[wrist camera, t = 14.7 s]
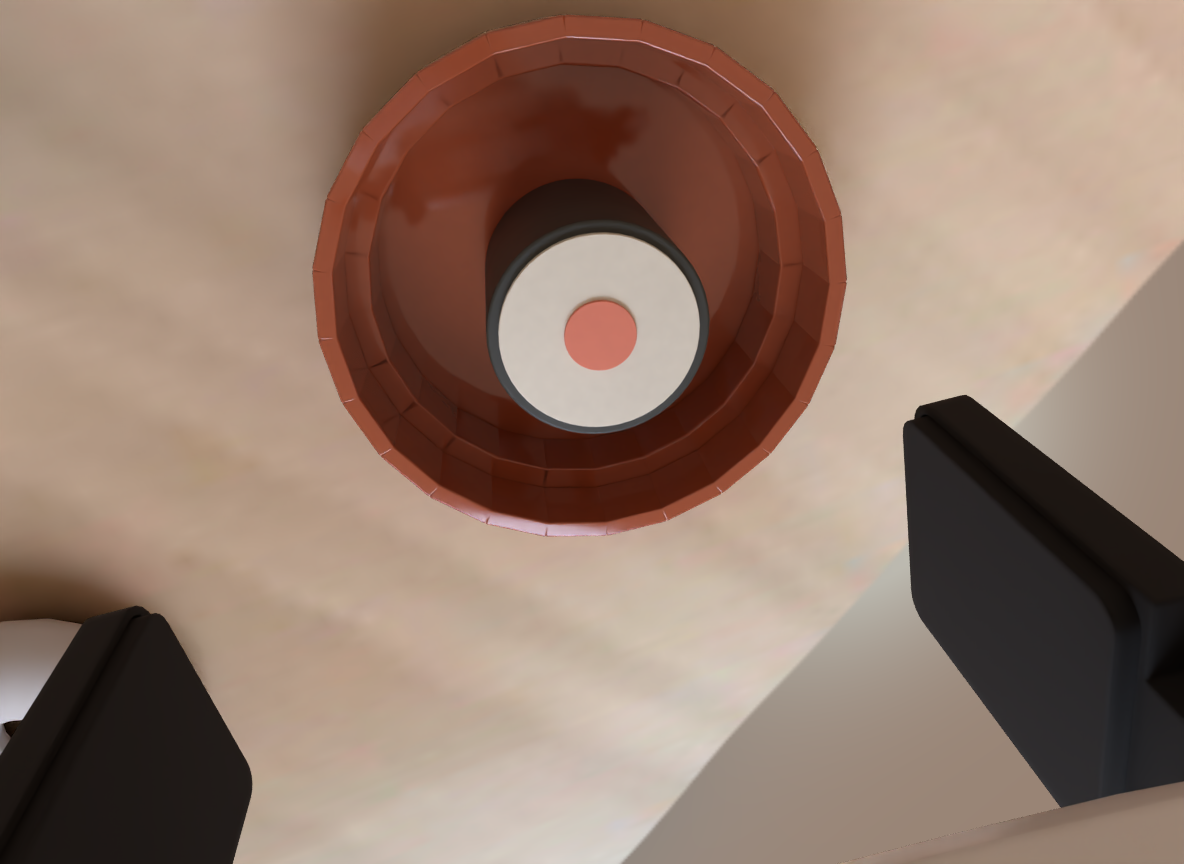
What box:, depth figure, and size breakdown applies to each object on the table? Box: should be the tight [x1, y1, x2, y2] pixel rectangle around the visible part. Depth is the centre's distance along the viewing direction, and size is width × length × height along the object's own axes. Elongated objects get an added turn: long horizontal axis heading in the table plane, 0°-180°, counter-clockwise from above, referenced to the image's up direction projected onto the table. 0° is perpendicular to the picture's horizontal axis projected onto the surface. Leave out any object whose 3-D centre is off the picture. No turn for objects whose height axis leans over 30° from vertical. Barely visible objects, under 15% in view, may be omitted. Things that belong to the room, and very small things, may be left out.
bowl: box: [312, 14, 847, 536], centre depth 25 cm, size 14×14×5 cm
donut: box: [0, 619, 82, 755], centre depth 31 cm, size 10×3×10 cm
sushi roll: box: [485, 179, 710, 434], centre depth 24 cm, size 6×6×6 cm
